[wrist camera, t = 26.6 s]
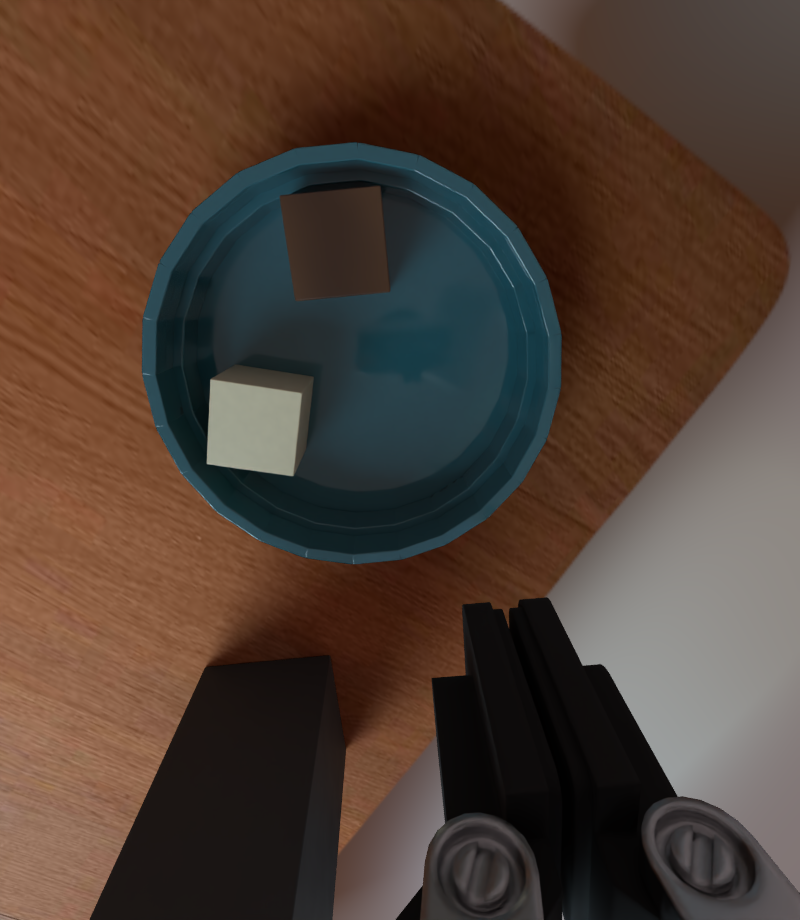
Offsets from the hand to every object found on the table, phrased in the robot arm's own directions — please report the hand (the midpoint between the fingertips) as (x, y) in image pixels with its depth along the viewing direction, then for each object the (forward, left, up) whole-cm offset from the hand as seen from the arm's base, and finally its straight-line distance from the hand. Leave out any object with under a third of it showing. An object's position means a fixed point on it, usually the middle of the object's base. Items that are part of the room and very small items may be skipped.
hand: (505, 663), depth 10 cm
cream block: (+8, -2, -18) cm, 20 cm away
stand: (+11, +19, -19) cm, 29 cm away
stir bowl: (+3, -3, -19) cm, 20 cm away
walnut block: (+3, -9, -18) cm, 21 cm away
